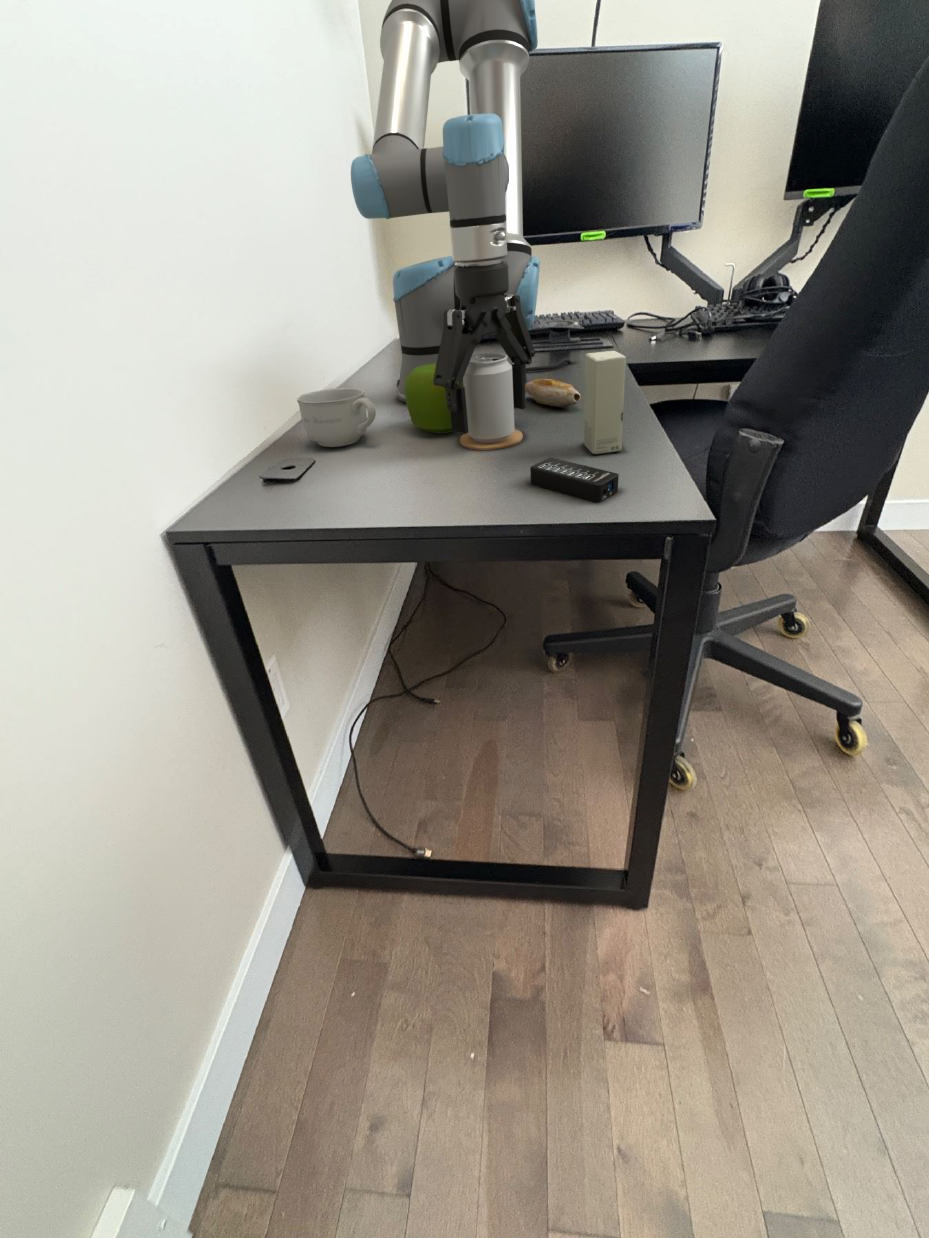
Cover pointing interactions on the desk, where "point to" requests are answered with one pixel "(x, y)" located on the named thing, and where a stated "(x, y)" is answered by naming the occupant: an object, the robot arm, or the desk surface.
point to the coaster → (472, 444)
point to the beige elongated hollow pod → (552, 392)
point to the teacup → (336, 415)
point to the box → (604, 401)
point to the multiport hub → (574, 479)
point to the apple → (427, 400)
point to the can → (489, 398)
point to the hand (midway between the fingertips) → (490, 419)
